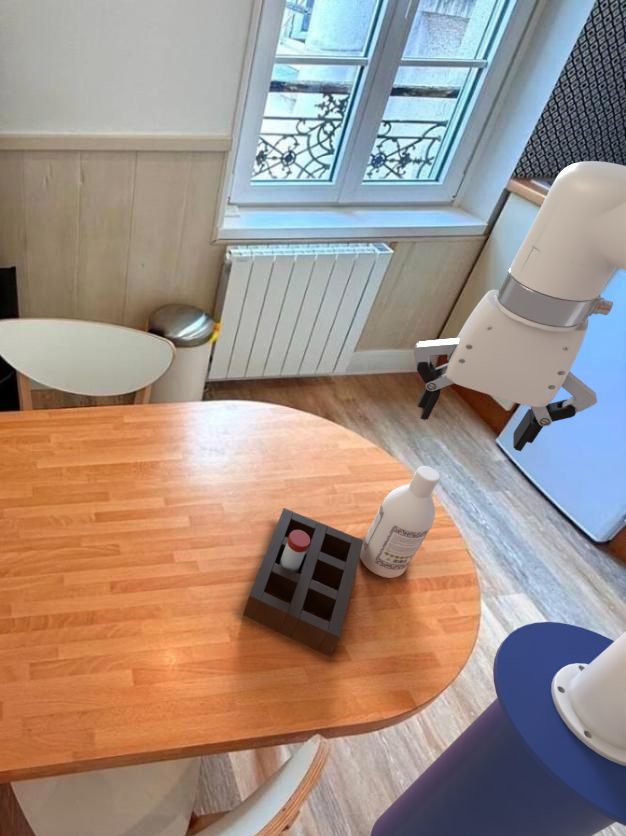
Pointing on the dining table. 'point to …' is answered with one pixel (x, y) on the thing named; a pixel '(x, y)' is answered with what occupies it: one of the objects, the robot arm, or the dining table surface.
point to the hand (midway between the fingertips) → (469, 427)
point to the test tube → (295, 550)
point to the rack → (306, 583)
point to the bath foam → (400, 525)
